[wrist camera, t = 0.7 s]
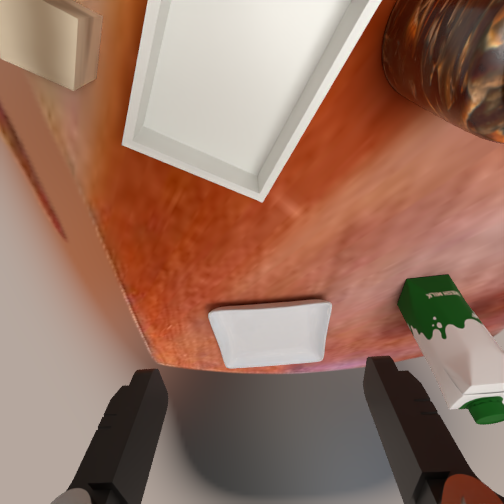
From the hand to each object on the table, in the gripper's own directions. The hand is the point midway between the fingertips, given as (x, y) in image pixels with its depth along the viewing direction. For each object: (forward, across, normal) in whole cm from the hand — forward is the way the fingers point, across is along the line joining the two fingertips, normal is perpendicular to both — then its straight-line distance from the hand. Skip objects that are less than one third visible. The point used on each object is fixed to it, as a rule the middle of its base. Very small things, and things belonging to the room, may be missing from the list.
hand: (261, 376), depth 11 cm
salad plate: (+34, 0, +31) cm, 46 cm away
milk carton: (+33, -27, +23) cm, 49 cm away
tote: (+24, +1, -12) cm, 27 cm away
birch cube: (+23, +15, -16) cm, 32 cm away
